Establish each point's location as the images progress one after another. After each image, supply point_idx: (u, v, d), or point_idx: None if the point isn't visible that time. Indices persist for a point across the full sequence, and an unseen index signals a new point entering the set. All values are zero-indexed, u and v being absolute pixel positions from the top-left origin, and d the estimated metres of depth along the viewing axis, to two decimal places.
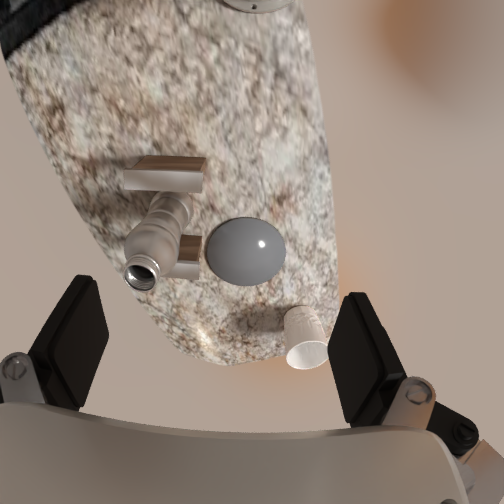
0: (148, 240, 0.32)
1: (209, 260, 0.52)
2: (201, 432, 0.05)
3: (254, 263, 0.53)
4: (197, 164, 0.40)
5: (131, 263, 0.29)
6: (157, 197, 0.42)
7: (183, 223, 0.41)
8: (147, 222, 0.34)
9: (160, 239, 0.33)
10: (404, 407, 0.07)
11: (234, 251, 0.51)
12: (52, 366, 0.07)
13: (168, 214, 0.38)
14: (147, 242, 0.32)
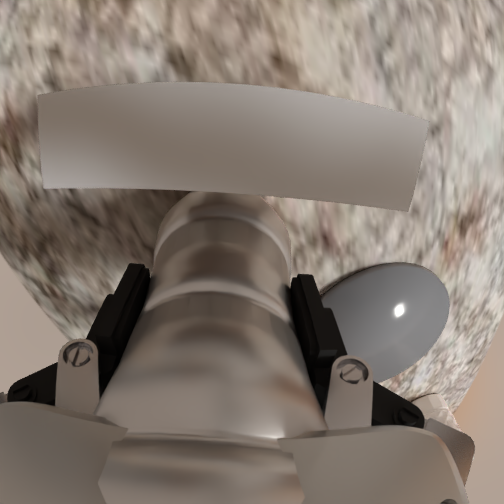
0: None
1: None
2: None
3: (387, 351, 0.23)
4: None
5: None
6: (183, 217, 0.12)
7: None
8: (172, 424, 0.04)
9: None
10: (342, 390, 0.07)
11: (357, 335, 0.22)
12: (116, 351, 0.08)
13: (255, 306, 0.08)
14: None
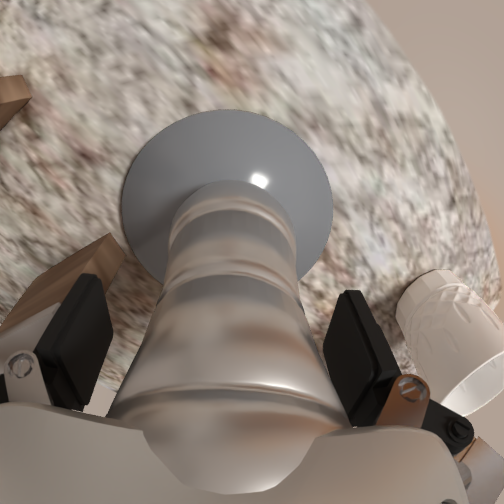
0: None
1: (157, 277, 0.20)
2: None
3: None
4: None
5: None
6: (197, 209, 0.13)
7: None
8: (205, 377, 0.05)
9: None
10: (399, 405, 0.07)
11: None
12: (58, 364, 0.07)
13: (267, 285, 0.09)
14: None
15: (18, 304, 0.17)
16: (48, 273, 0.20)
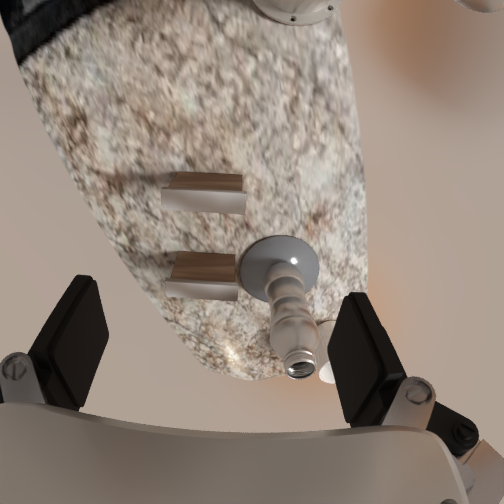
0: (310, 337, 0.36)
1: (242, 278, 0.51)
2: (201, 432, 0.05)
3: None
4: (237, 183, 0.40)
5: (305, 360, 0.33)
6: (287, 273, 0.46)
7: None
8: (305, 315, 0.38)
9: (316, 337, 0.37)
10: (404, 407, 0.07)
11: None
12: (52, 366, 0.07)
13: (305, 303, 0.42)
14: (310, 339, 0.36)
15: (180, 264, 0.46)
16: (194, 255, 0.48)
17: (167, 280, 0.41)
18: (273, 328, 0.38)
